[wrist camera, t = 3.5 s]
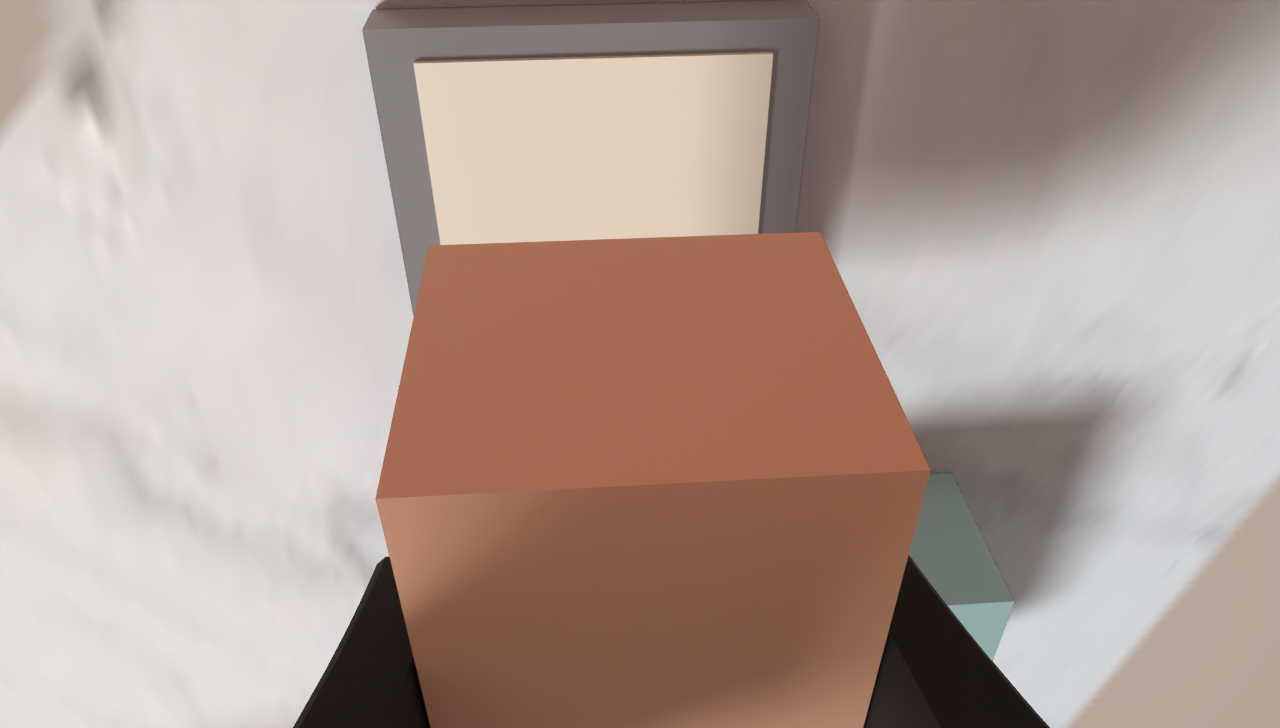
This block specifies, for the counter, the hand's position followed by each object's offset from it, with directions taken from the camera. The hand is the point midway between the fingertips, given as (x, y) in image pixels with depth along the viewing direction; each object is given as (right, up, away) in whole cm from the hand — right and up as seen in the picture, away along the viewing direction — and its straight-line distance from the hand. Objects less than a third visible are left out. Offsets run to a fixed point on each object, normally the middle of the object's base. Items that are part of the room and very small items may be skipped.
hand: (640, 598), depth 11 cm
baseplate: (-1, +5, +7) cm, 8 cm away
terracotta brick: (0, +1, +2) cm, 2 cm away
